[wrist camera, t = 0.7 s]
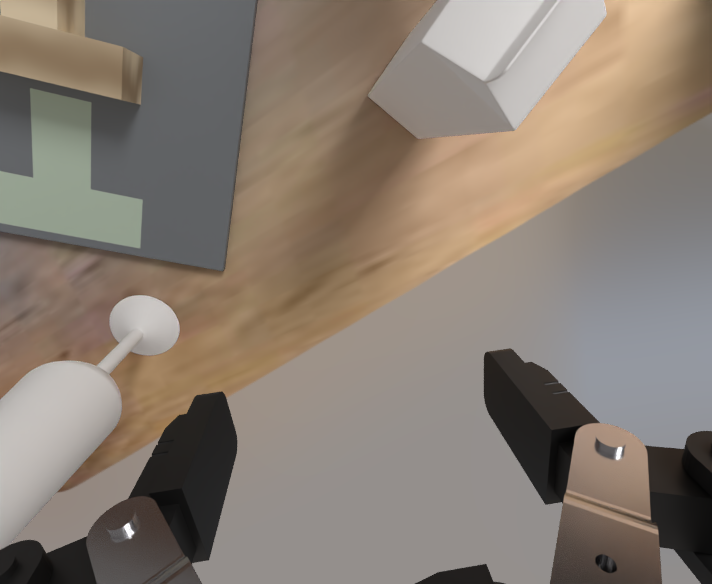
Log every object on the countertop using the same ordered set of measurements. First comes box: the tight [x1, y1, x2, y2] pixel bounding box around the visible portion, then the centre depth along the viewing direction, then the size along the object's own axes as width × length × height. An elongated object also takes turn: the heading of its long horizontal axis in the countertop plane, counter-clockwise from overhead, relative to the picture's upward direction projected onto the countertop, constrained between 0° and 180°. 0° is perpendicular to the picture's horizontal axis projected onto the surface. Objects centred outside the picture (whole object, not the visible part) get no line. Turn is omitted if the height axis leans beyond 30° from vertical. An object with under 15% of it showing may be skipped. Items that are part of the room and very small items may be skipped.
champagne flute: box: [0, 295, 180, 550], centre depth 29 cm, size 7×7×24 cm
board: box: [0, 0, 258, 271], centre depth 32 cm, size 24×28×1 cm
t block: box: [0, 0, 143, 105], centre depth 28 cm, size 10×12×4 cm
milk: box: [368, 0, 606, 139], centre depth 24 cm, size 6×6×22 cm
